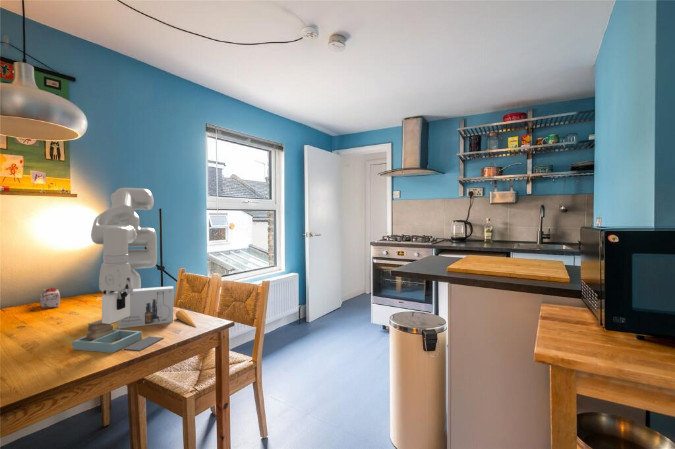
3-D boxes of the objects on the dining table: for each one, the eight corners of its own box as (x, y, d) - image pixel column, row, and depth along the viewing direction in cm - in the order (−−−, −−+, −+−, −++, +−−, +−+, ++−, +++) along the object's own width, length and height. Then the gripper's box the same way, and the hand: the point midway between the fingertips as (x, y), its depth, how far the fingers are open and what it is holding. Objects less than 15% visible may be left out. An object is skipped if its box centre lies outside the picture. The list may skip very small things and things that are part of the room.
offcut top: (88, 330, 116) (88, 323, 116) (102, 325, 122) (102, 318, 122) (96, 331, 116) (96, 324, 116) (110, 325, 122) (110, 319, 122)
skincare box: (117, 329, 134) (117, 292, 133) (119, 325, 138) (119, 289, 138) (173, 322, 143) (173, 287, 143) (173, 319, 148) (173, 285, 148)
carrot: (176, 319, 149) (172, 312, 148) (185, 314, 152) (182, 306, 151) (193, 334, 136) (189, 326, 134) (203, 328, 139) (199, 320, 137)
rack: (72, 349, 113) (72, 341, 113) (105, 336, 126) (105, 328, 126) (112, 352, 110) (112, 344, 110) (141, 339, 123) (141, 331, 123)
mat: (123, 349, 113) (123, 348, 113) (149, 337, 125) (149, 336, 125) (139, 351, 112) (139, 350, 112) (163, 338, 124) (163, 337, 124)
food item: (61, 307, 165) (61, 289, 165) (40, 310, 160) (40, 291, 160) (59, 302, 175) (59, 285, 175) (39, 305, 170) (39, 287, 170)
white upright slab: (102, 323, 114) (101, 295, 113) (122, 315, 123) (122, 289, 122) (109, 323, 113) (109, 296, 113) (130, 315, 122) (129, 290, 122)
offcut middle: (86, 339, 116) (86, 331, 115) (103, 332, 123) (103, 324, 123) (96, 339, 115) (96, 331, 115) (113, 332, 123) (113, 324, 123)
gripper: (87, 260, 115) (88, 309, 116) (127, 262, 112) (127, 313, 113) (105, 257, 122) (106, 304, 123) (143, 259, 120) (143, 306, 120)
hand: (116, 307), depth 118 cm, fingers closed on white upright slab, 3 cm apart
